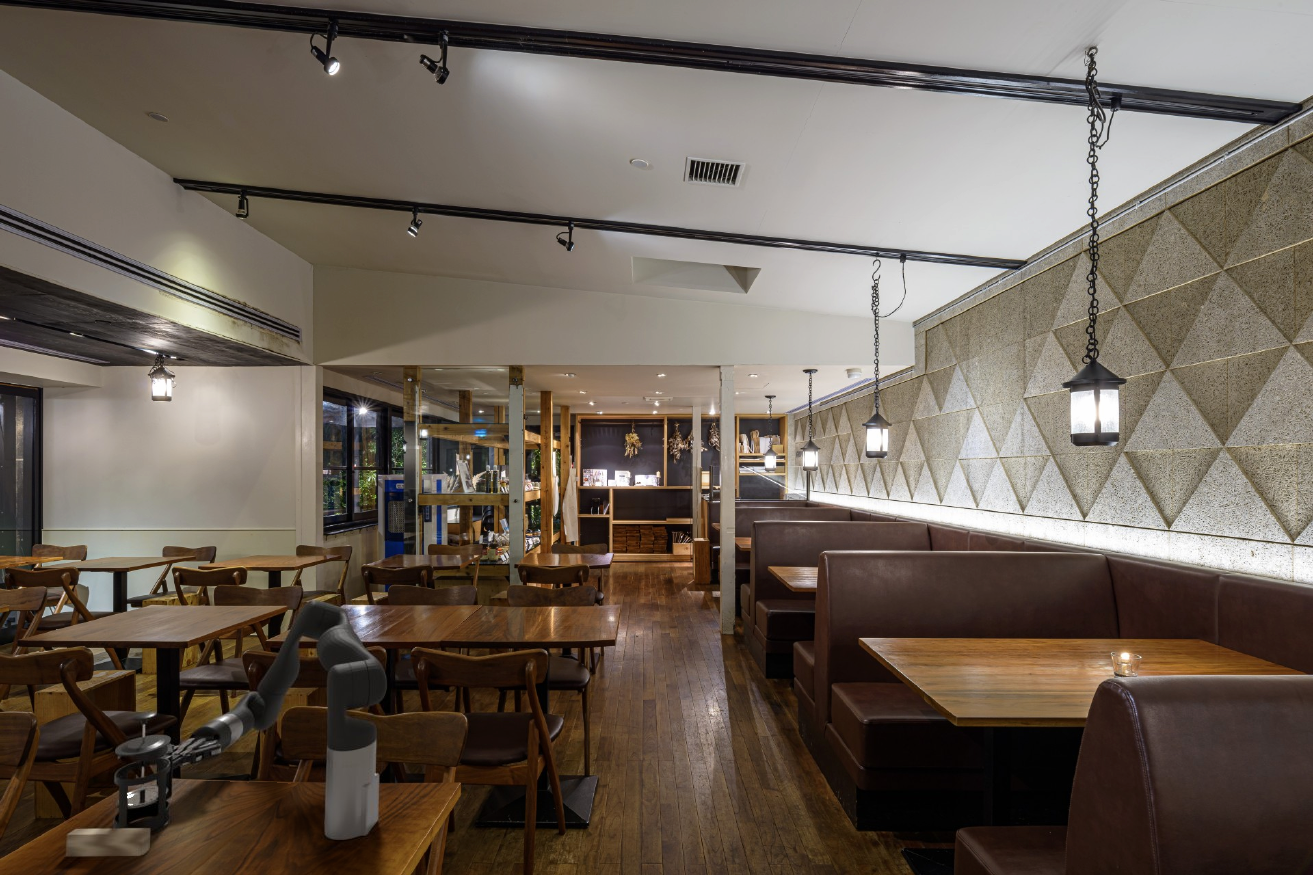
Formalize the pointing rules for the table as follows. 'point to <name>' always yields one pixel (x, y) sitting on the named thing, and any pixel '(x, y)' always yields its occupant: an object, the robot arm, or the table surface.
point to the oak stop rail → (108, 842)
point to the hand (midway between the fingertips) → (164, 767)
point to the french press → (144, 781)
